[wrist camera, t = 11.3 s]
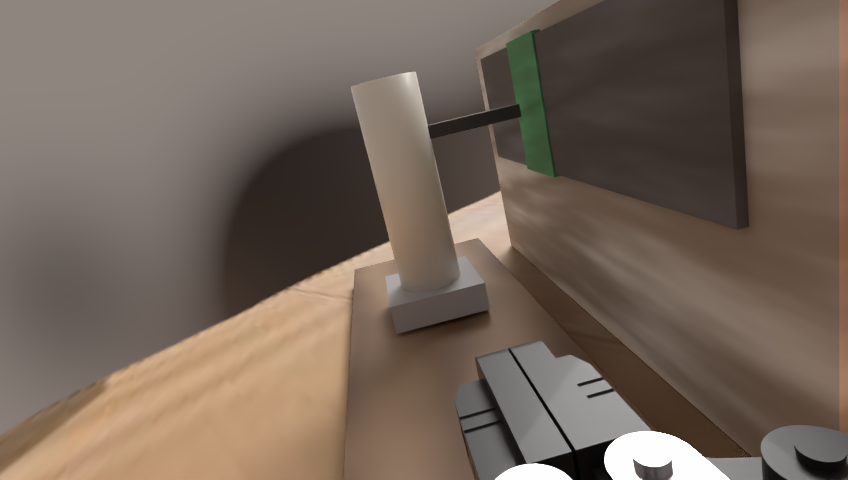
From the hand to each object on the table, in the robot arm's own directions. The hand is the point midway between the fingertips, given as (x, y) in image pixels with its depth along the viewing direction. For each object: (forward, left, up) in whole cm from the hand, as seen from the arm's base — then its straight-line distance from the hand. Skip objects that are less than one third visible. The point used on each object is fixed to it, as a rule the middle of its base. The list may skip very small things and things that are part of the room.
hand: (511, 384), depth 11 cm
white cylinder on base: (+2, +21, -7) cm, 23 cm away
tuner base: (+2, +18, -8) cm, 20 cm away
